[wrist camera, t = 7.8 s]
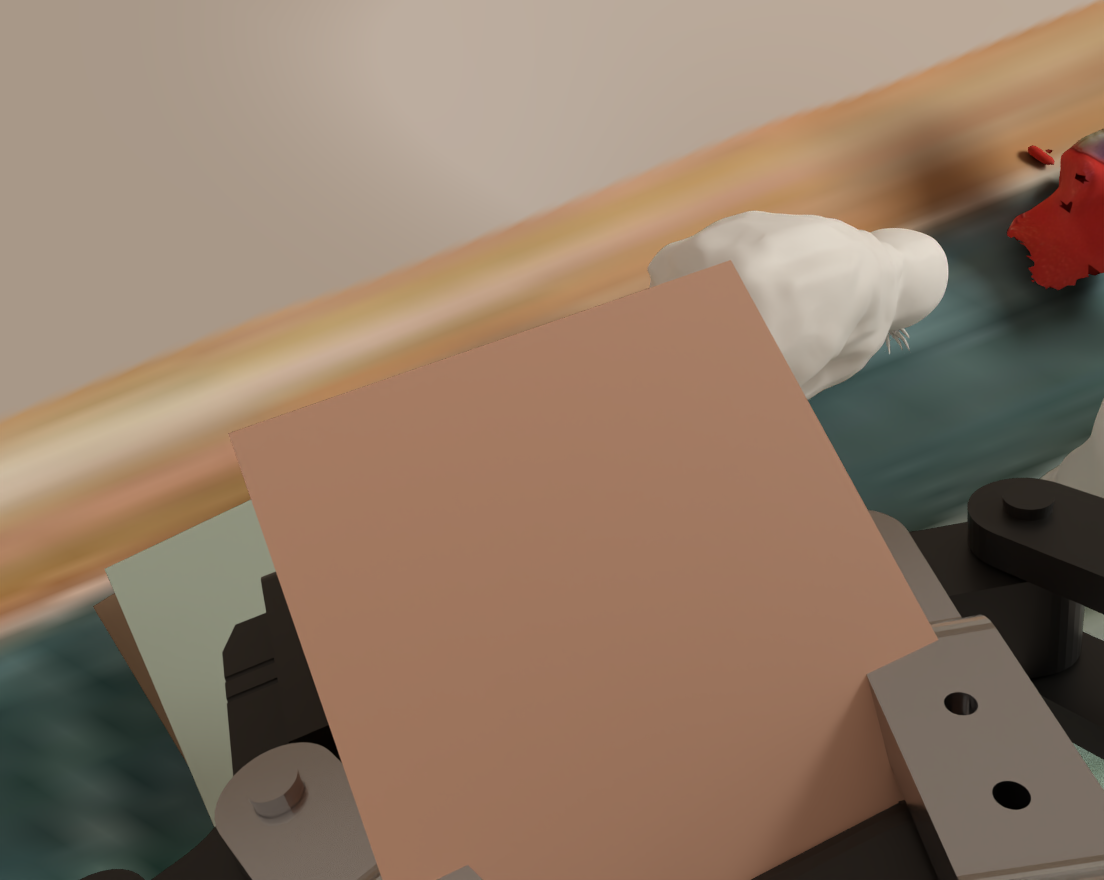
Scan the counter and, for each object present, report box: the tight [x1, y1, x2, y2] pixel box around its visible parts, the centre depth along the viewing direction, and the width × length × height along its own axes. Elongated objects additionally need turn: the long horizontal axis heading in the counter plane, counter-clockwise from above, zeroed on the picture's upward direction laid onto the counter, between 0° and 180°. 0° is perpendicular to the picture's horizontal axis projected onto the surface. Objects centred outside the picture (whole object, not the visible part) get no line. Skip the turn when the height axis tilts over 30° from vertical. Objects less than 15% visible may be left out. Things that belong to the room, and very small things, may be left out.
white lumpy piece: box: [648, 211, 948, 400], centre depth 32 cm, size 6×8×12 cm
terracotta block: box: [228, 260, 938, 880], centre depth 13 cm, size 5×5×10 cm
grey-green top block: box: [105, 500, 276, 827], centre depth 25 cm, size 7×7×4 cm
